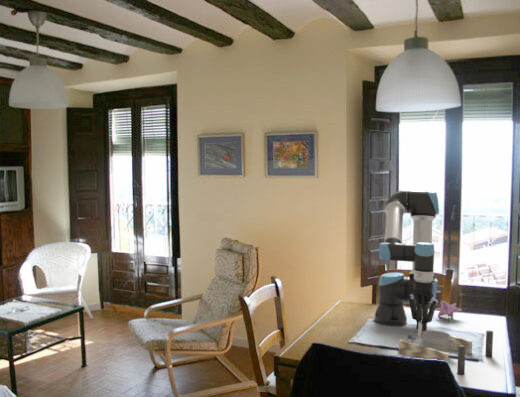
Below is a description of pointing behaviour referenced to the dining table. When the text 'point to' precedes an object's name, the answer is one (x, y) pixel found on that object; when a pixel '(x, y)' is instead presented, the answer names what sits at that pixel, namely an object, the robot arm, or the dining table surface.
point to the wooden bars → (430, 353)
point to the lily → (447, 309)
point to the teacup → (437, 340)
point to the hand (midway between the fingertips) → (421, 337)
